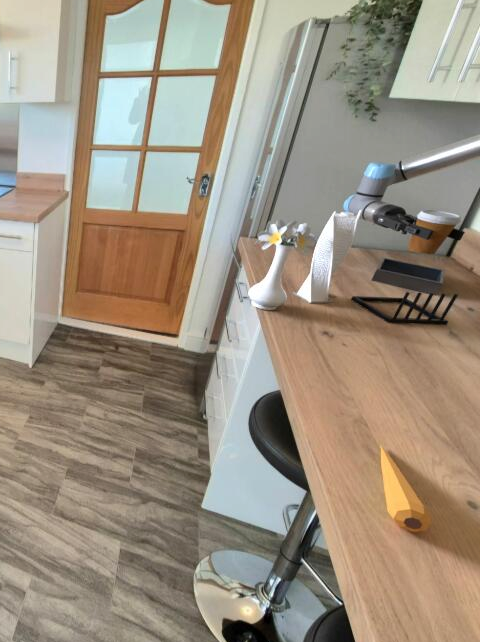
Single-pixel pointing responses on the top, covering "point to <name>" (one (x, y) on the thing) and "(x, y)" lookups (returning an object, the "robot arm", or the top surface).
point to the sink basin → (409, 276)
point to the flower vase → (279, 261)
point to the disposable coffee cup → (438, 224)
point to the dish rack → (422, 310)
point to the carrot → (402, 498)
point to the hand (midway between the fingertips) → (445, 235)
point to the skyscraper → (329, 256)
